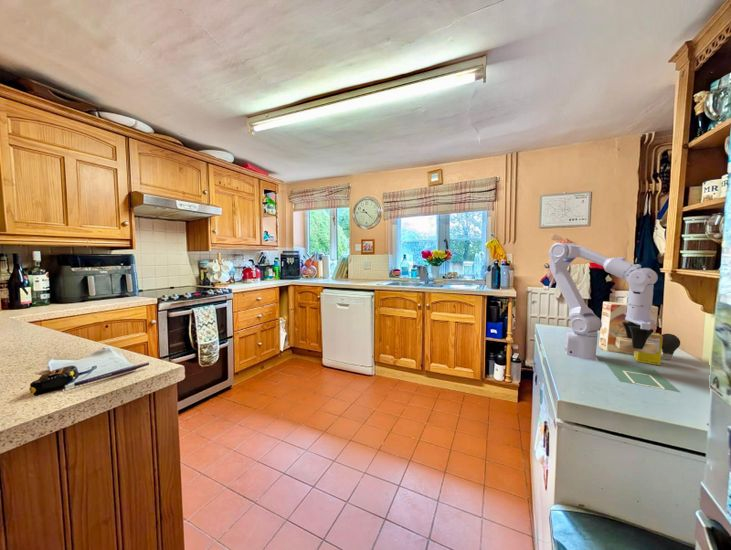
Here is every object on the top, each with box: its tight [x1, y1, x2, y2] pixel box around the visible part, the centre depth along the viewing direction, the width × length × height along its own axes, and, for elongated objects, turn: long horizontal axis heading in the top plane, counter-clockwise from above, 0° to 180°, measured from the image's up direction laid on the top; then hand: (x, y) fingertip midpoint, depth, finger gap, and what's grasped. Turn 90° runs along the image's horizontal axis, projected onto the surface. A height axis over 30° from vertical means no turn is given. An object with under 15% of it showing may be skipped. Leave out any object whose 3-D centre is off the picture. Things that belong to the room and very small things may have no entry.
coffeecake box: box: [598, 301, 659, 356], centre depth 114 cm, size 15×7×20 cm, turn 73°
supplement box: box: [633, 332, 663, 367], centre depth 103 cm, size 6×6×11 cm
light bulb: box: [660, 333, 681, 361], centre depth 106 cm, size 6×6×10 cm
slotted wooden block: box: [615, 337, 657, 354], centre depth 95 cm, size 9×4×3 cm, turn 62°
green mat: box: [604, 361, 681, 393], centre depth 91 cm, size 13×18×1 cm
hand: (635, 346), depth 95 cm, fingers closed on slotted wooden block, 4 cm apart
